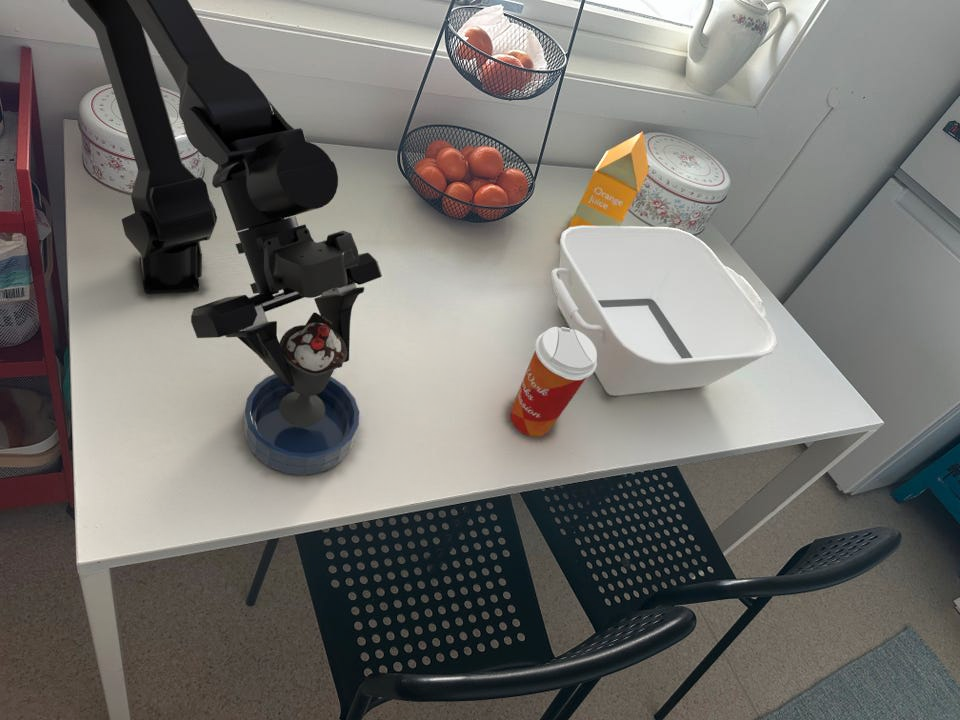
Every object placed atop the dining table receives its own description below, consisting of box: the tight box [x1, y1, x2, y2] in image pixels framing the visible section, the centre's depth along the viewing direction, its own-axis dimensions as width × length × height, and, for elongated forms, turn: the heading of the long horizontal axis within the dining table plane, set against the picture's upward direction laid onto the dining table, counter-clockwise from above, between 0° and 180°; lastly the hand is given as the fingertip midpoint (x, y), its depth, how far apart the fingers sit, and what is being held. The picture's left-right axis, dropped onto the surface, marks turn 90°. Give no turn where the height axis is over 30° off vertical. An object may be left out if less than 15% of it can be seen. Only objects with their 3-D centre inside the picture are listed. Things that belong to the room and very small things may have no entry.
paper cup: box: [510, 326, 597, 437], centre depth 87 cm, size 8×8×14 cm
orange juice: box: [567, 130, 650, 229], centre depth 117 cm, size 8×9×20 cm
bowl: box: [242, 373, 360, 476], centre depth 80 cm, size 12×12×4 cm
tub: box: [550, 225, 778, 398], centre depth 103 cm, size 34×27×13 cm
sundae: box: [279, 312, 347, 427], centre depth 73 cm, size 7×7×15 cm
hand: (318, 373), depth 73 cm, fingers closed on sundae, 6 cm apart
